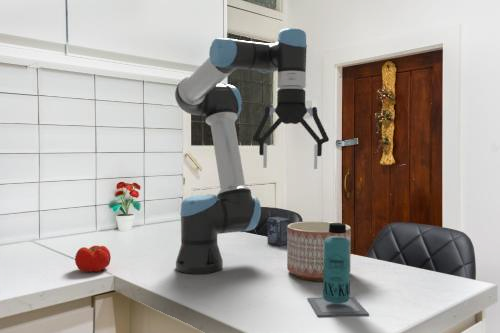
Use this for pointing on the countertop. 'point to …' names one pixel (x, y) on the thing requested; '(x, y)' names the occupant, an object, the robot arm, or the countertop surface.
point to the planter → (309, 248)
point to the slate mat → (337, 308)
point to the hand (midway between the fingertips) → (290, 168)
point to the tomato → (92, 258)
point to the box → (277, 231)
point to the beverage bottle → (336, 266)
